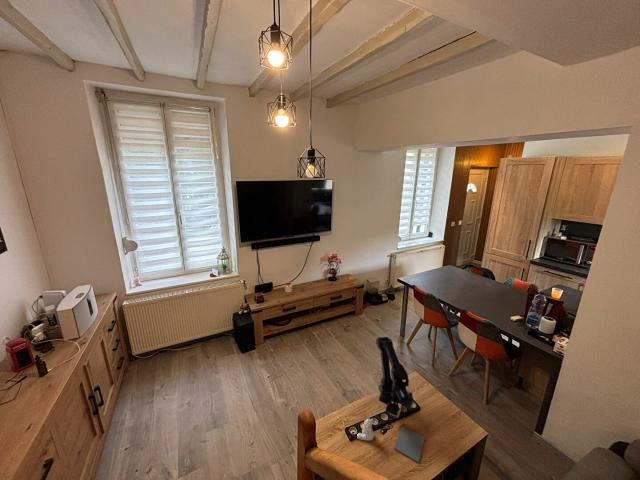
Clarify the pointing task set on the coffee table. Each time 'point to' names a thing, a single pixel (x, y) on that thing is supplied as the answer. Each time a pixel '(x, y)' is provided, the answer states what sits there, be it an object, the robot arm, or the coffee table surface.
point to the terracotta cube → (399, 410)
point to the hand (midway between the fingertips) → (395, 410)
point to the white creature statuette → (366, 431)
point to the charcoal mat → (409, 444)
